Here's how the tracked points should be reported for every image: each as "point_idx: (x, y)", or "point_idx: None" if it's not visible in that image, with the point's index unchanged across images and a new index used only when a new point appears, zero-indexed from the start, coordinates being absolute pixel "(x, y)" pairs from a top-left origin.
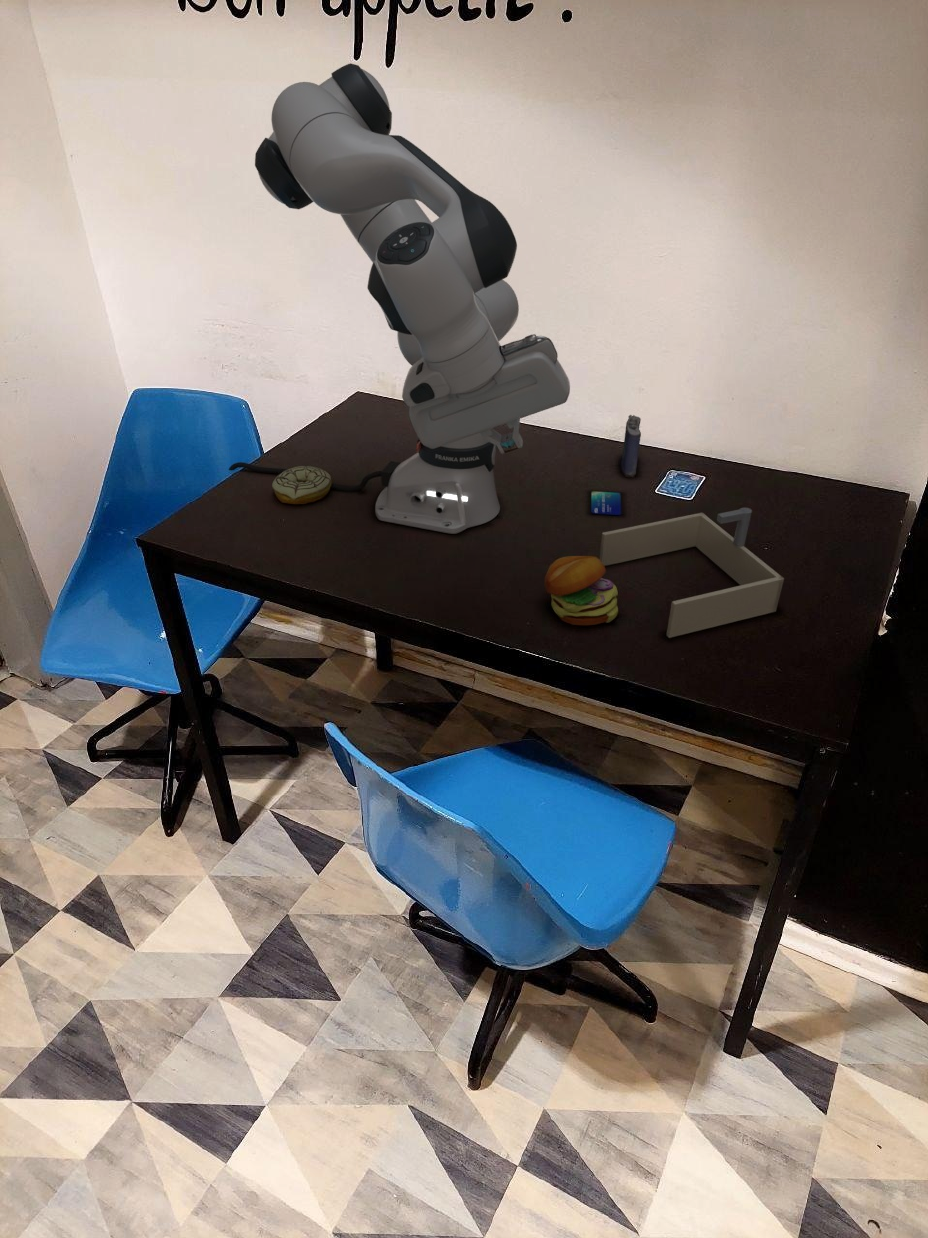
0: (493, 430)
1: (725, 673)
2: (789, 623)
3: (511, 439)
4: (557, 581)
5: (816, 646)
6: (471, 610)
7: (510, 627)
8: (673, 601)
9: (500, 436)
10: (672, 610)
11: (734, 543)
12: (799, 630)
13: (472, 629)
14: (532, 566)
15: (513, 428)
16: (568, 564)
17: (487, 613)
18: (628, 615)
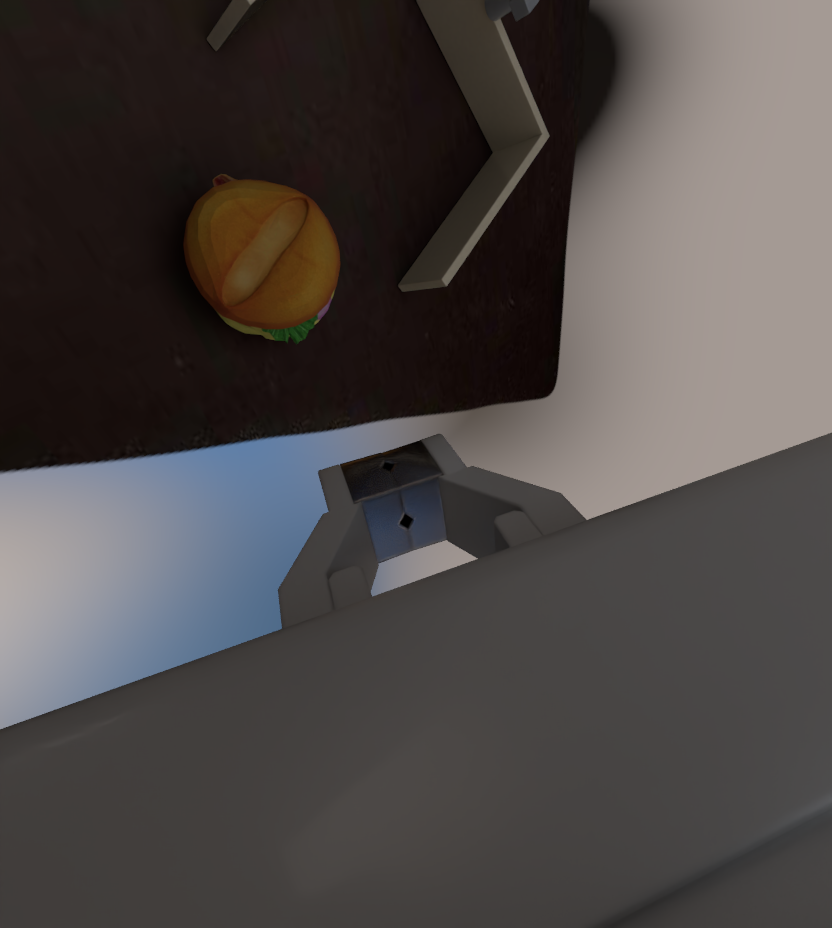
0: (340, 558)
1: (471, 340)
2: None
3: (440, 537)
4: (253, 312)
5: (537, 231)
6: (17, 380)
7: (152, 394)
8: (443, 278)
9: (363, 524)
10: (434, 285)
11: (489, 12)
12: (523, 198)
13: (76, 446)
14: (37, 90)
15: (491, 541)
16: (258, 247)
17: (67, 372)
18: None
